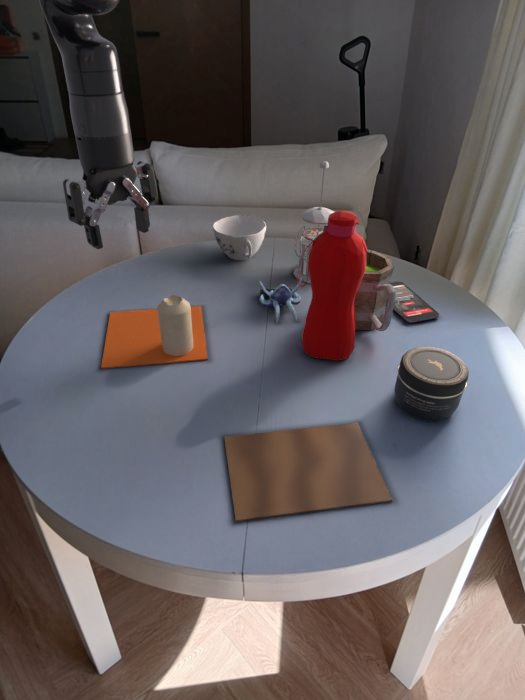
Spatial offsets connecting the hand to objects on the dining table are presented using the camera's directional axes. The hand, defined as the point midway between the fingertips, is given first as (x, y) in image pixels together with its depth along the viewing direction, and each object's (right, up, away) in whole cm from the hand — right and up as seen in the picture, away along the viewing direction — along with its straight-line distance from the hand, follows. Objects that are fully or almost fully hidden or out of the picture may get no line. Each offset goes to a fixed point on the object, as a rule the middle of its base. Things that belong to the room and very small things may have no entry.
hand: (120, 239), depth 77 cm
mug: (+42, -12, +19) cm, 48 cm away
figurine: (+26, -9, +24) cm, 36 cm away
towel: (+2, -15, +14) cm, 21 cm away
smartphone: (+52, -8, +26) cm, 58 cm away
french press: (+34, 0, +35) cm, 49 cm away
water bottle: (+33, -17, +12) cm, 39 cm away
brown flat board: (+28, -33, -11) cm, 45 cm away
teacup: (+17, +5, +42) cm, 46 cm away
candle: (+7, -17, +11) cm, 22 cm away
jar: (+48, -26, +1) cm, 54 cm away
